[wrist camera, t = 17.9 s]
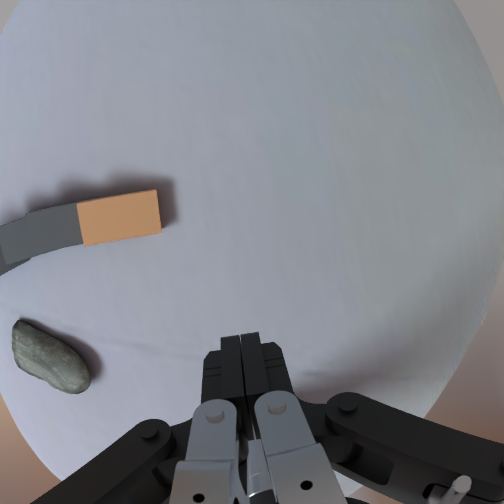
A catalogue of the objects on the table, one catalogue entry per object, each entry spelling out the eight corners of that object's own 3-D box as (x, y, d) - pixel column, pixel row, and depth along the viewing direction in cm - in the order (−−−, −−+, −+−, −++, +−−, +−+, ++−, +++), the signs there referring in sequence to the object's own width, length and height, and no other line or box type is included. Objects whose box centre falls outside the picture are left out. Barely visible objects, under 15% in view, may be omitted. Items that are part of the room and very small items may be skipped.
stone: (98, 352, 42) (25, 311, 42) (86, 364, 38) (10, 319, 38) (90, 402, 44) (22, 362, 43) (80, 415, 40) (10, 371, 40)
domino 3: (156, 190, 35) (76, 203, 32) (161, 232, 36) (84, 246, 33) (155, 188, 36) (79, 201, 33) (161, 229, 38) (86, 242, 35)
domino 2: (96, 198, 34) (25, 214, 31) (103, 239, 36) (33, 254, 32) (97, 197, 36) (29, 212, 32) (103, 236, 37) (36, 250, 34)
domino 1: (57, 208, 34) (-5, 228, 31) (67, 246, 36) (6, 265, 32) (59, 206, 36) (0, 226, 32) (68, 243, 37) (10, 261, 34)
